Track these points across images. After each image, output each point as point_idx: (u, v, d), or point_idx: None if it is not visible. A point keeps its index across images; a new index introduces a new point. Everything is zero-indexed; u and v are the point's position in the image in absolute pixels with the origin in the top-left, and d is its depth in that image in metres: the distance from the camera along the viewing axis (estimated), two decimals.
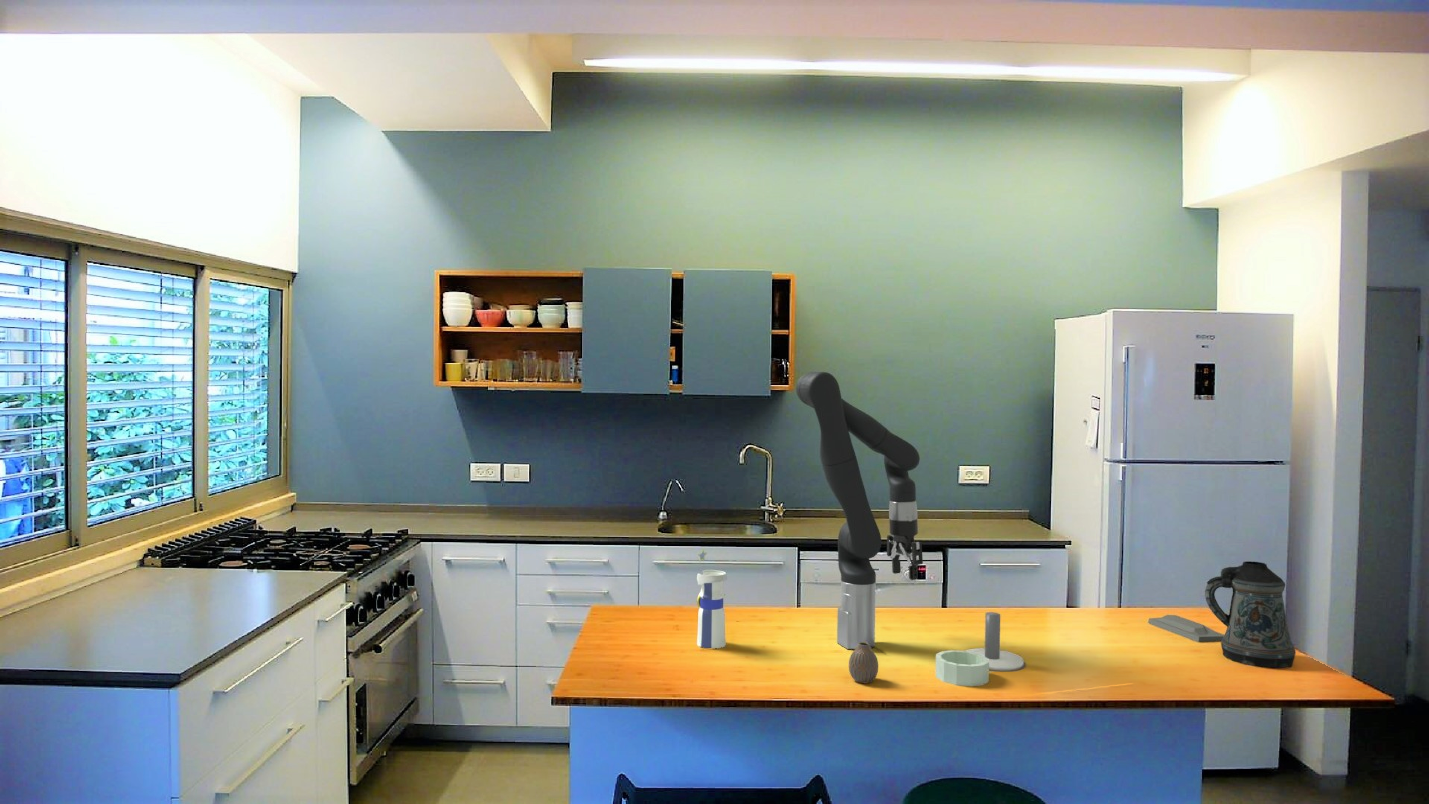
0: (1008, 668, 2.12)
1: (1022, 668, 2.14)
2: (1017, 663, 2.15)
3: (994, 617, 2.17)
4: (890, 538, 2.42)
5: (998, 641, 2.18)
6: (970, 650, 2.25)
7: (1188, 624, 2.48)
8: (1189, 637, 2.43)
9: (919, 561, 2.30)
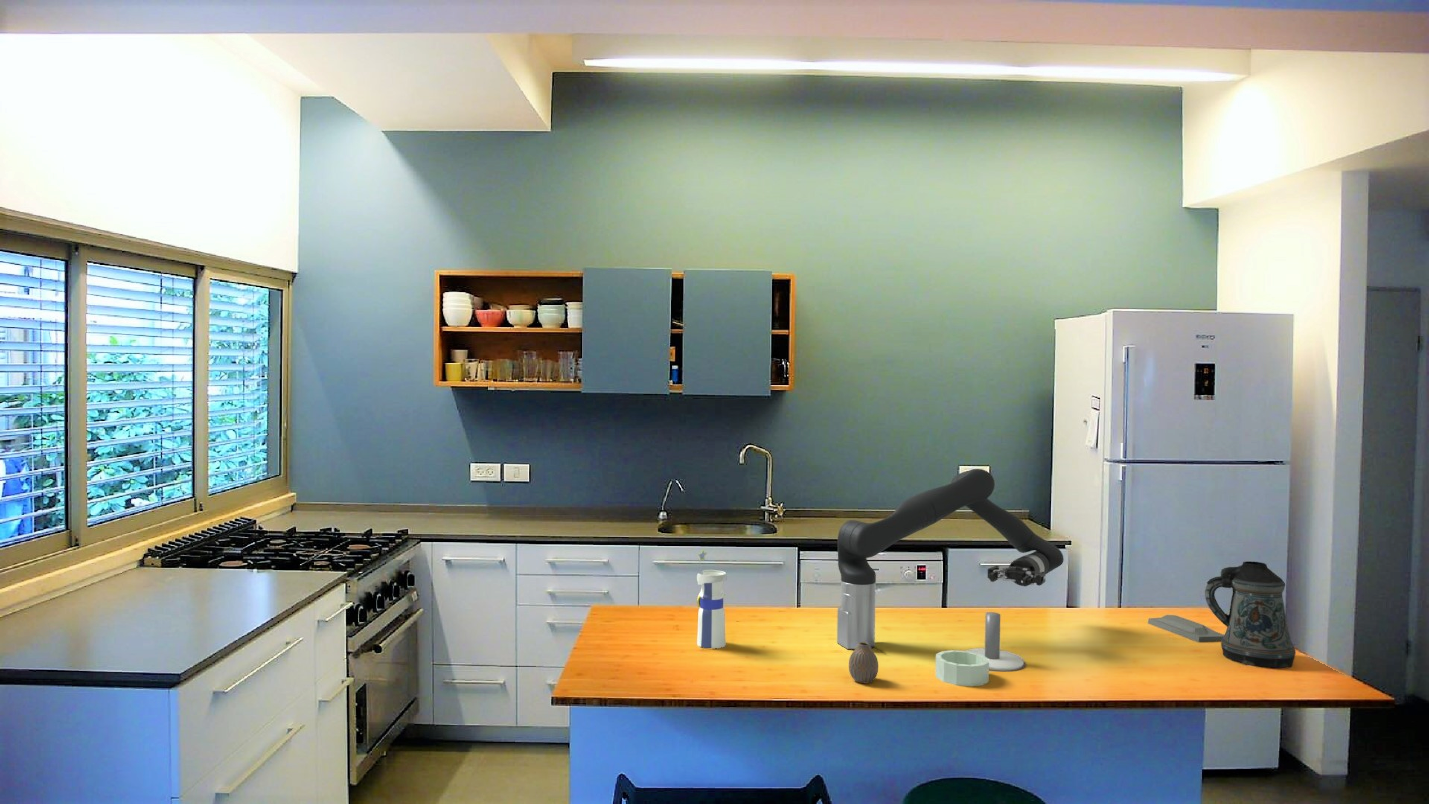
0: (1008, 668, 2.12)
1: (1022, 668, 2.14)
2: (1017, 663, 2.15)
3: (994, 617, 2.17)
4: (998, 568, 2.39)
5: (998, 641, 2.18)
6: (970, 650, 2.25)
7: (1188, 624, 2.48)
8: (1189, 637, 2.43)
9: None
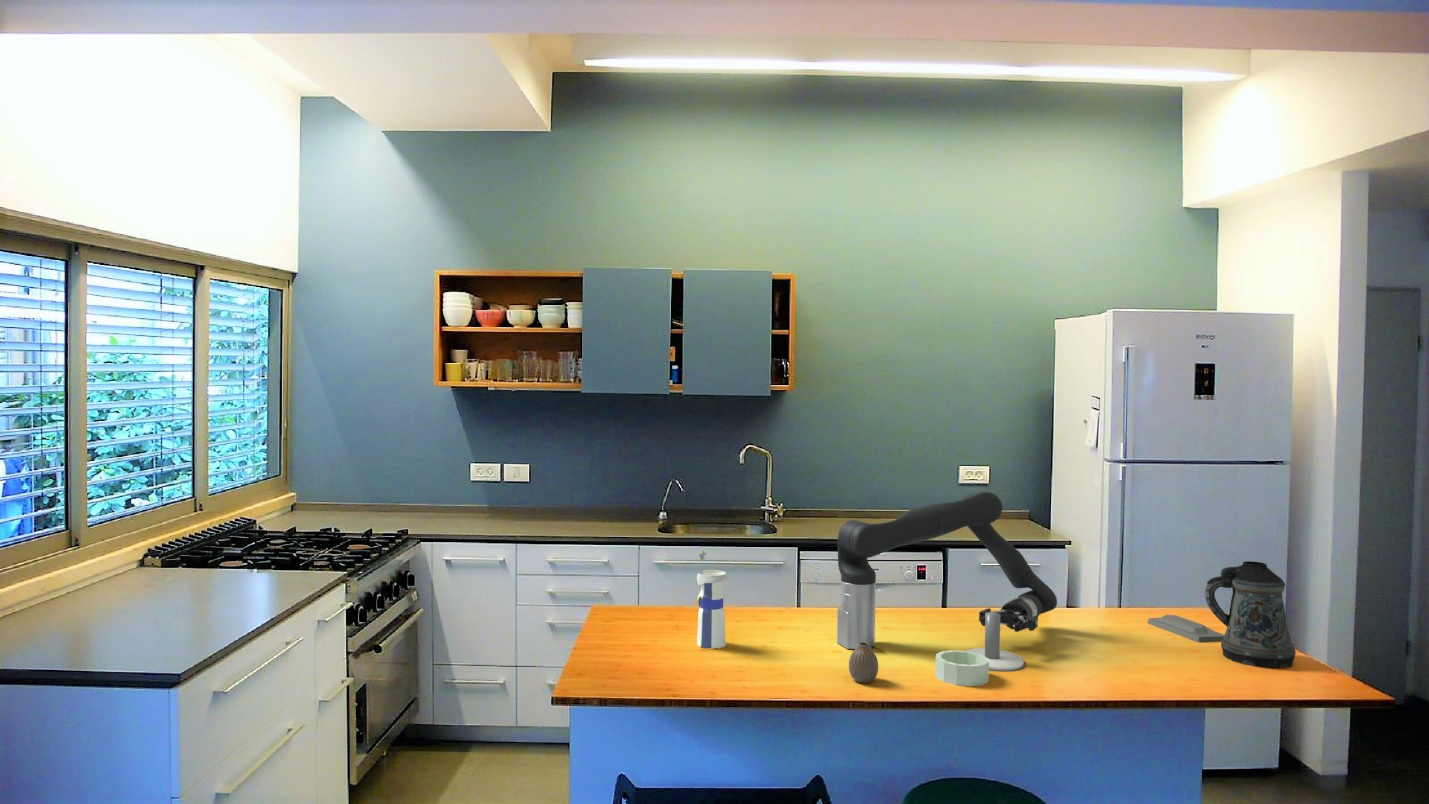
0: (1008, 668, 2.12)
1: (1022, 668, 2.14)
2: (1017, 663, 2.15)
3: (994, 617, 2.17)
4: (990, 611, 2.35)
5: (998, 641, 2.18)
6: (970, 650, 2.25)
7: (1188, 624, 2.48)
8: (1189, 637, 2.43)
9: None
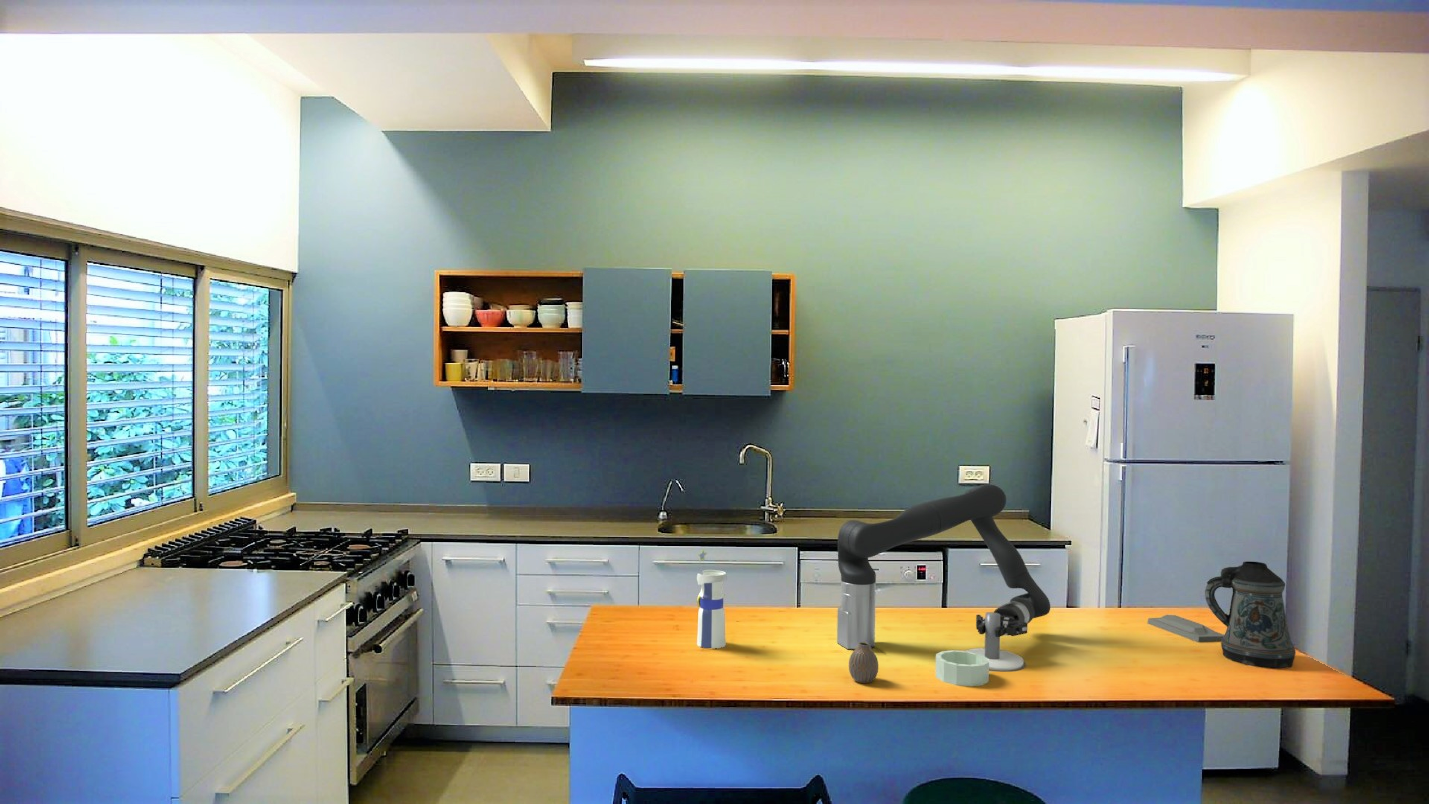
0: (1008, 668, 2.12)
1: (1022, 668, 2.14)
2: (1017, 663, 2.15)
3: (994, 617, 2.17)
4: None
5: (998, 641, 2.18)
6: (970, 650, 2.25)
7: (1188, 624, 2.48)
8: (1189, 637, 2.43)
9: None
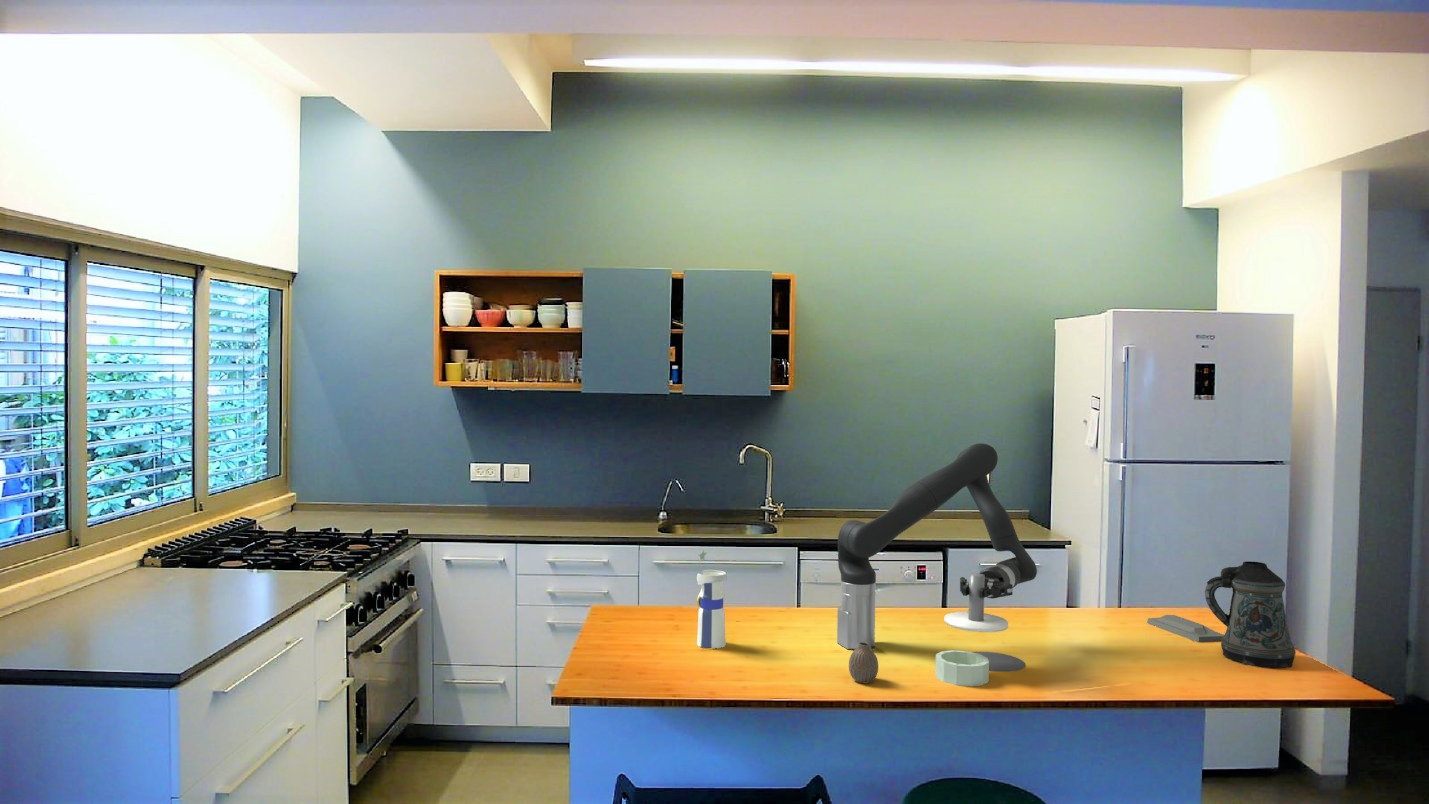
0: (992, 629, 2.05)
1: (1022, 668, 2.14)
2: (1002, 625, 2.08)
3: (978, 578, 2.10)
4: (964, 579, 2.21)
5: (982, 603, 2.11)
6: (953, 613, 2.18)
7: (1187, 624, 2.48)
8: (1189, 637, 2.43)
9: None
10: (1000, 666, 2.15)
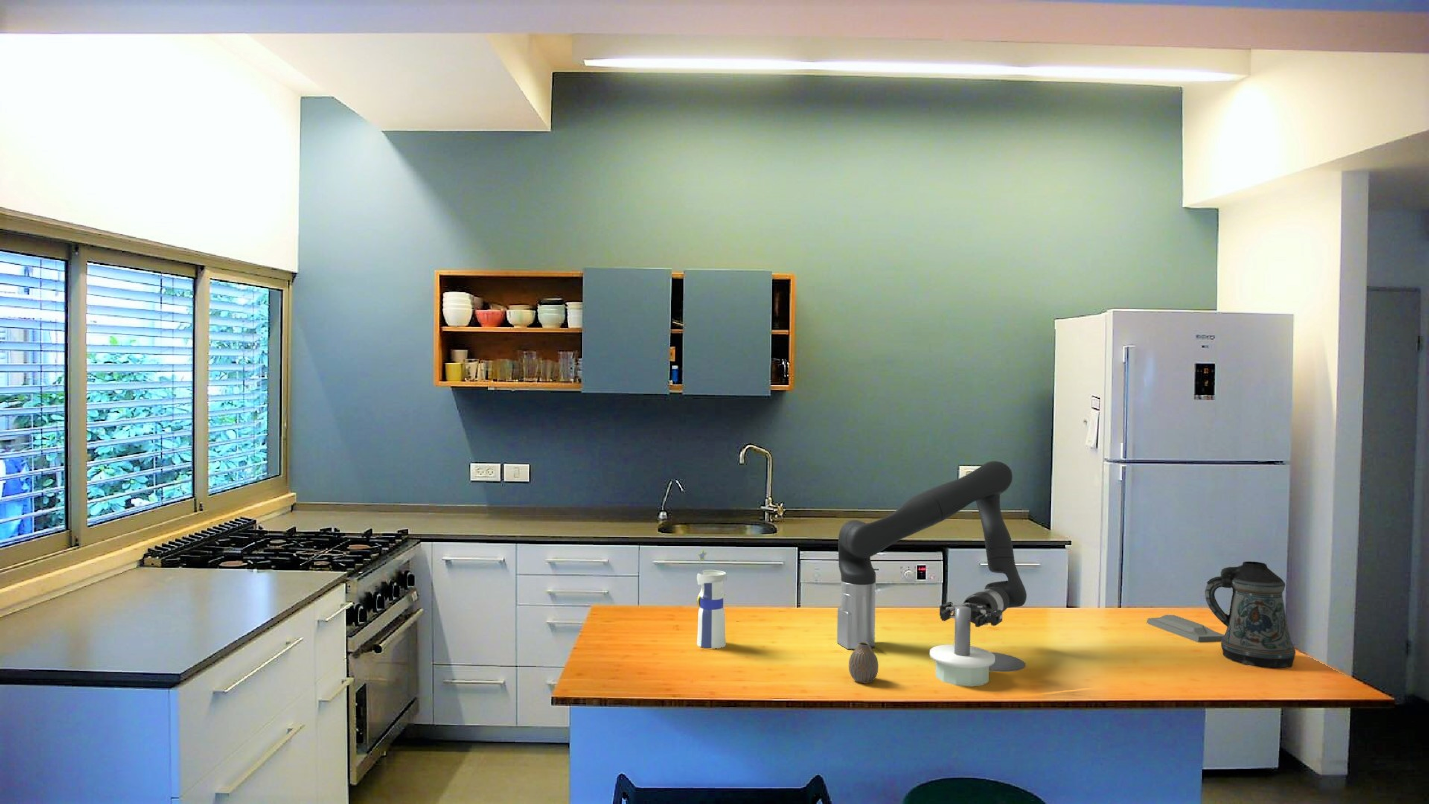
0: (978, 665, 1.99)
1: (1022, 668, 2.14)
2: (988, 660, 2.02)
3: (964, 611, 2.05)
4: None
5: (968, 637, 2.05)
6: (939, 646, 2.12)
7: (1187, 624, 2.48)
8: (1189, 637, 2.43)
9: None
10: (1000, 666, 2.15)
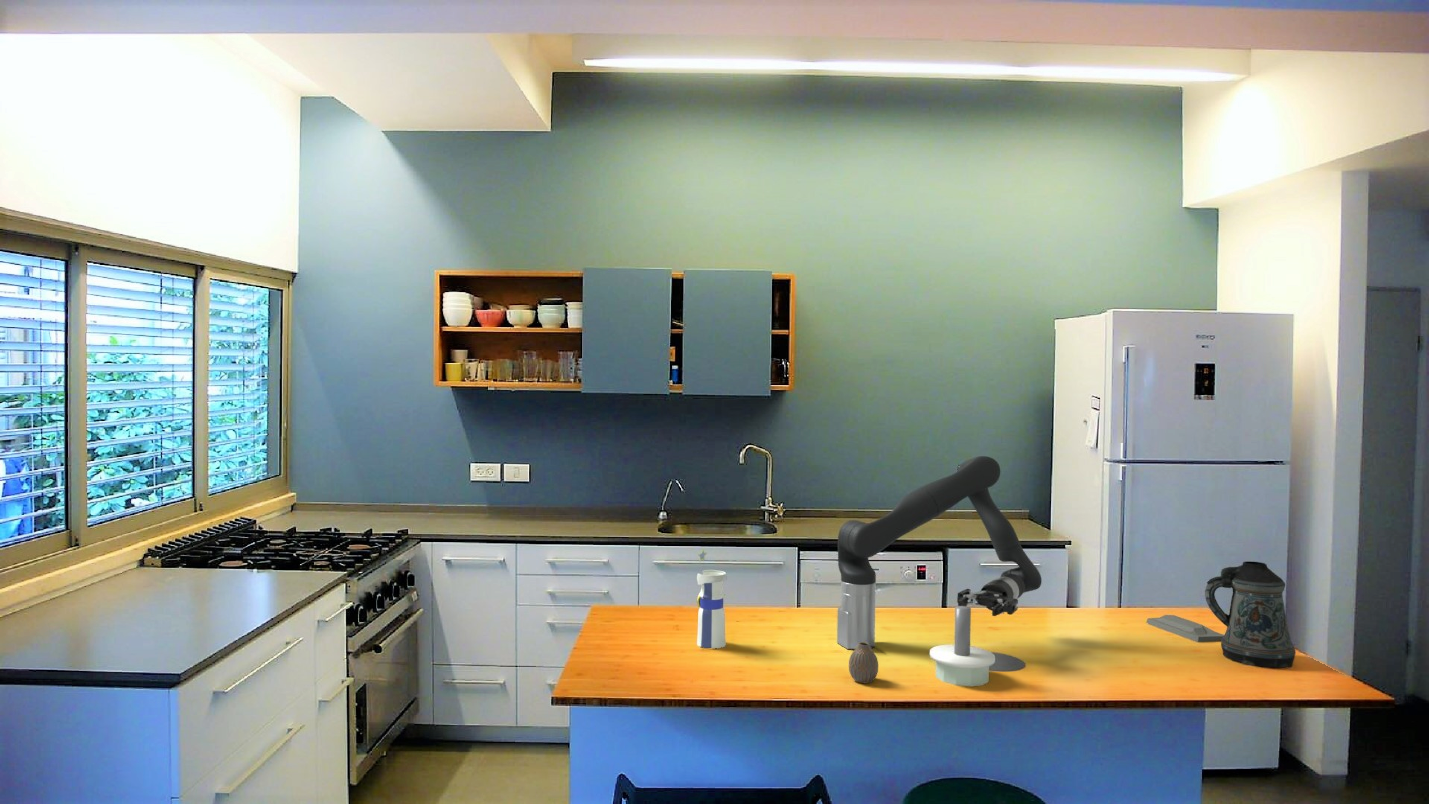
0: (978, 665, 1.99)
1: (1022, 668, 2.14)
2: (988, 660, 2.02)
3: (964, 611, 2.05)
4: (969, 591, 2.27)
5: (968, 637, 2.05)
6: (939, 646, 2.12)
7: (1187, 624, 2.48)
8: (1188, 637, 2.43)
9: None
10: (1000, 666, 2.15)
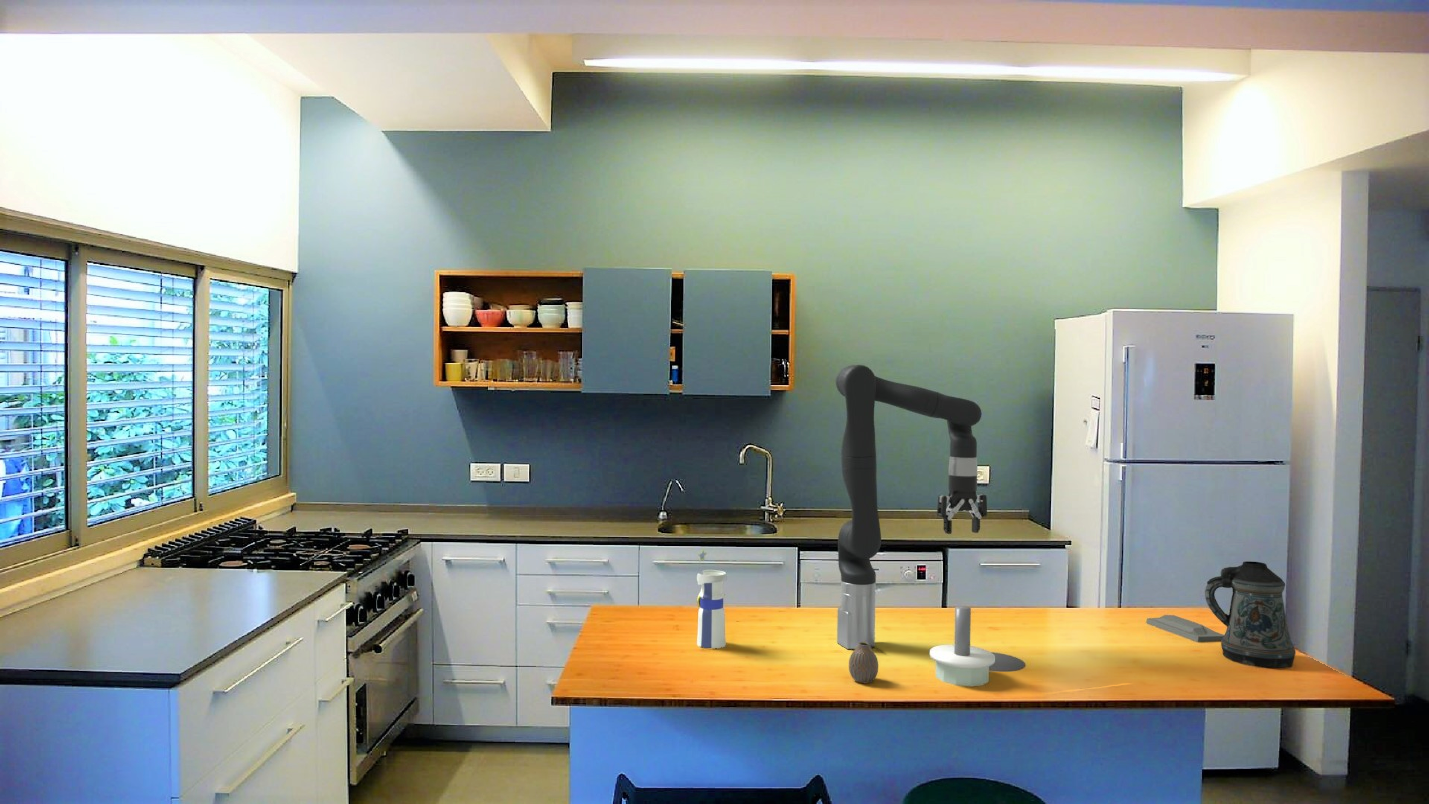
0: (978, 665, 1.99)
1: (1022, 668, 2.14)
2: (988, 660, 2.02)
3: (964, 611, 2.05)
4: None
5: (968, 637, 2.05)
6: (939, 646, 2.12)
7: (1187, 624, 2.48)
8: (1188, 637, 2.43)
9: None
10: (1000, 666, 2.15)
